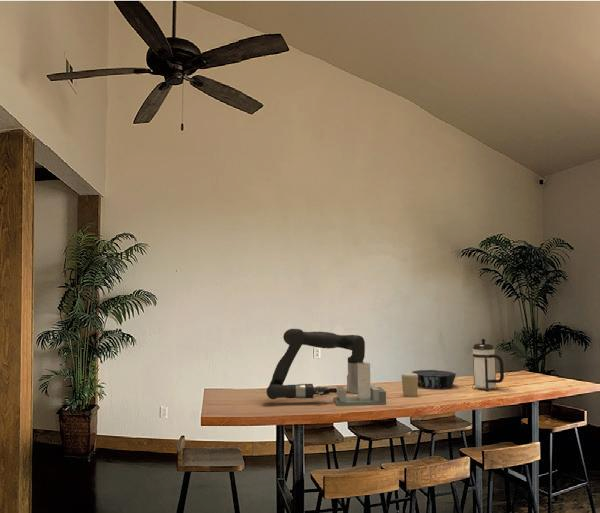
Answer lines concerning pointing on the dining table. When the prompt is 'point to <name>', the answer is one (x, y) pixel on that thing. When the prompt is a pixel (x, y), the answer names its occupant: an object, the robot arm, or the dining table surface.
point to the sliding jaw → (341, 394)
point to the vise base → (376, 399)
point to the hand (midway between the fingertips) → (336, 390)
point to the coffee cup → (410, 384)
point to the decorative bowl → (435, 379)
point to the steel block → (364, 381)
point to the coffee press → (485, 366)
